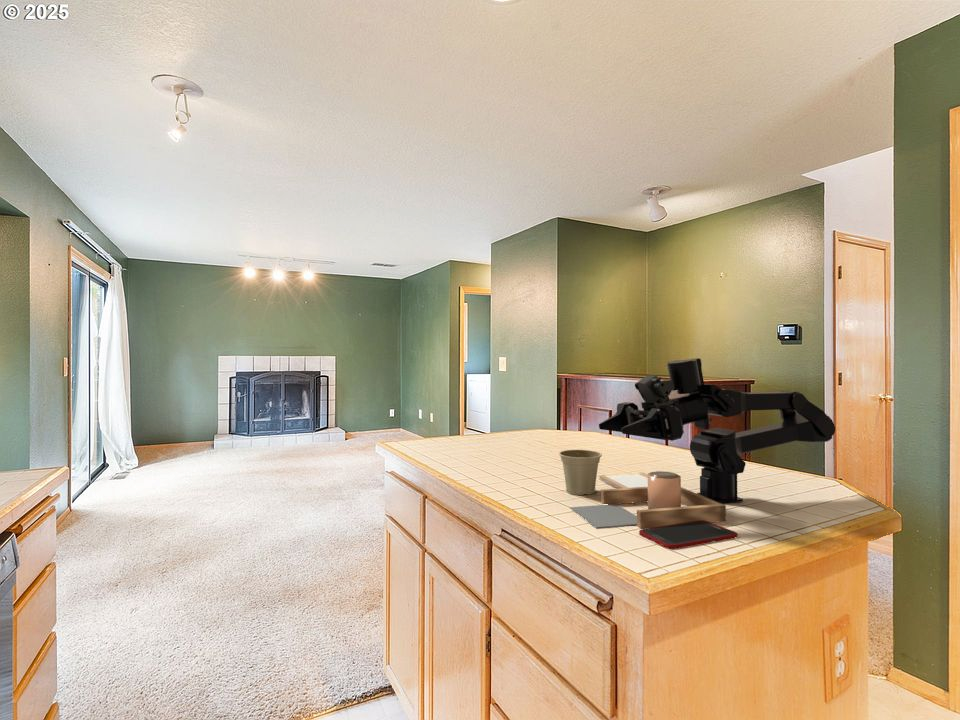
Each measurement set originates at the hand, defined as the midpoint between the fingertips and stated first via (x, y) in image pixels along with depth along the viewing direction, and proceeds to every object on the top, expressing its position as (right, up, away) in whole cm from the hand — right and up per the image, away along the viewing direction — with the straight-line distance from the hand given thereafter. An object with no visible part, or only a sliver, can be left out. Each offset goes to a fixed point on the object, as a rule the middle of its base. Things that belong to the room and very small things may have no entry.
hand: (610, 428), depth 97 cm
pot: (+10, -16, -2) cm, 19 cm away
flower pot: (-3, -16, +12) cm, 21 cm away
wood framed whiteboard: (+11, -16, +16) cm, 25 cm away
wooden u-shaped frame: (+9, -16, -2) cm, 18 cm away
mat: (-2, -16, -5) cm, 17 cm away
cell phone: (+9, -16, -15) cm, 24 cm away
